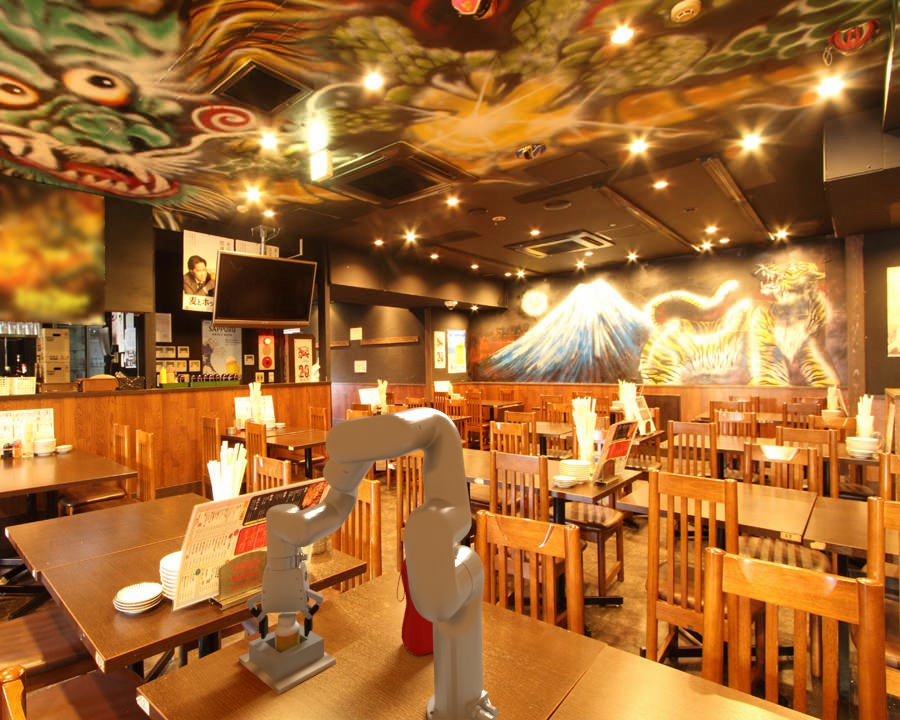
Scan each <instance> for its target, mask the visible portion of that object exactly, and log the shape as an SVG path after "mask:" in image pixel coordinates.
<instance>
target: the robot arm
mask: <svg viewBox="0 0 900 720" xmlns="http://www.w3.org/2000/svg"><path fill="white" fill-rule="evenodd" d="M463 449H464V447H463V443H462V438H461V435H460V432H459V430H458V427H457V426H456V424H455V422H454V421H453V420H452V419H451V418H450V417H449V416H448V415H447V414H446V413H444V412H442V411H440V410H438V409H435V408H432V407H426V406H421V407H418V406H417V407H412V408H411V407H410V408H406V409H402V410H398V411H393V412H388V413H383V414H378V415H373V416H369V415H367V416H358V417H354V418H350V419H344V420H341V421H338V422H337V423H335V424H334V425H333V426H331V428H330V429H329V431H328V433H327V435H326V439H325V450H326V453H327V455H328V457H329V459H328V461H327V462H326V464H325V465H324V467H323V470H322V475H323V478H324V481H325V483H327V485H329V487H331V488H330V490H329V491H328V492H327V494H326V496H325V497H324V498H323V500H322V501H321V502H319V503H316V504H314V505H312V506H309V507H307V508H304V509H302V510H301V509H300V507H299V506H298V505H296V504H294V503H282V504H276V505H273V506H271V507H269V508H268V510H267V511H266V515H265V521H266V522H265V523H266V526H265V527H266V530H265V531H266V565H265V566H264V569H263V576H262V581H261V591H260V592H259V593H256V594H255V595H253V596H251V597H248V599H247V601H246V602H245V603H246V606H247V608H248V610H249V611H250V614H251V615H252V616H253V617H254V618H256V621H257V622H258V634H260V637H261V639H264V638H265V637H266V635H267V634H269V616H268V614H281V613H284V612H295V613H296V612H301V614H303V616H304V620H303V626H304V636H305V637H308V635H309V633H310V631H312V632H313V628H314V627H313V625H314V622H313V616H314V615H315V614H316V613H317V612H319V609H320V607H321V606H322V603H323V601H324V599H325V596H324V595H323V594H322V593H319V592H317V591H315V590H314V589H313V590H312V589H310V581H309V574H308V568H307V564H306V562H305V561H308V559H309V554H307V553H304V552H303V549H302V548H307V547H309V546H311V545H312V544H315V543H317V542H319V541H321V540H322V539H325V538H326V537H328V536H330V535H332V534H333V533H335V532H337V531H338V530H339V529H341V527H342V526H343V524H344V523H345V522H346V520H347V519H348V518H349V515H350V514H351V513H352V511H353V510H354V508H355V506H356V504H357V501H358V496H359V487H360V485H361V484H362V482H363V481H364V479H365V478H366V475H367V474H368V473H369V471H370V470H371V468H372V467H373V466H374V464H375V462H379V461H380V462H381V461H385V460H392V459H393V460H394V459H398V458H401V457H405V456H409V455H410V454H413V453H416V452H419V451H422V452H423V460H422V461H423V462H422V468H421V469H422V471H421V477H422V479H421V480H422V485H423V494H424V495H423V497H424V501H423V503H421V504H420V505H419V506H417V507H415V509H413V510H412V511H411V513H410V514H408V515H409V516H408V517H407V518H406V522H405V523H404V524H405V525H404V529H403V545H404V546H403V547H404V556H405V558H406V564H407V573H408V581H409V589H410V594H411V598H412V601H413V604H414V606H415V608H416V610H417V611H418V612H419V614H420V615H421V616H422V617H423V618H425V619H426V620H428V621H431V622H433V652H432V653H433V683H434V685H433V686H434V689H433V690H434V692H433V693H434V694H433V695H432V696H431V697H430V698H429V700H427V704H426V716H427V720H497V716H498V714H499V709H498V708H497V707H496V706H494V705H492V703H491V700H490V698H489V696H488V695H489V694H488V691H486V690H484V671H483V670H484V669H483V668H484V667H483V665H484V664H483V663H484V662H483V660H484V657H483V598H484V589H485V588H484V587H485V568H484V564H483V561H482V559H481V557H480V556H479V554H478V553H477V552H476V551H475V550H474V549H473V548H471V547H469V546H466V545H464V544H463V545H462V544H459V545H458V543H460V542H461V541H462V540H463V539H464V538H465V537H466V536H467V535H468V534H469V532H470V529H471V527H472V512H471V511H472V510H471V505H470V498H469V490H468V488H469V487H468V482H467V481H468V480H467V475H466V470H465V460H464V459H465V458H464V451H463ZM310 599H312V600H314V601H315V604H313V605H312V606H311V604H310V603H309V602H310ZM259 601H260V607H261V608H260V607H259V606H258V605H256V603H257V602H259Z"/></svg>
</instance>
